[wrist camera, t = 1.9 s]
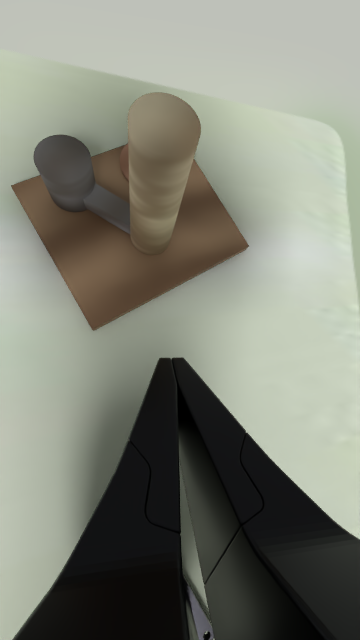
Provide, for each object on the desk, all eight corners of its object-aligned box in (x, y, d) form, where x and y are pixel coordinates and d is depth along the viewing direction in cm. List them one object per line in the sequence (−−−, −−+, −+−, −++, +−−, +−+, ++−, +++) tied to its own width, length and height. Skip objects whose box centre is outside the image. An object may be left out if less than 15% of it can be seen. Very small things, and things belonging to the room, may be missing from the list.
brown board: (245, 250, 24) (249, 245, 23) (93, 330, 20) (91, 328, 19) (172, 134, 24) (174, 125, 24) (15, 192, 21) (9, 183, 20)
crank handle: (40, 196, 20) (-49, 31, 10) (67, 163, 21) (8, -17, 11) (156, 264, 21) (177, 172, 11) (177, 230, 22) (214, 116, 12)
